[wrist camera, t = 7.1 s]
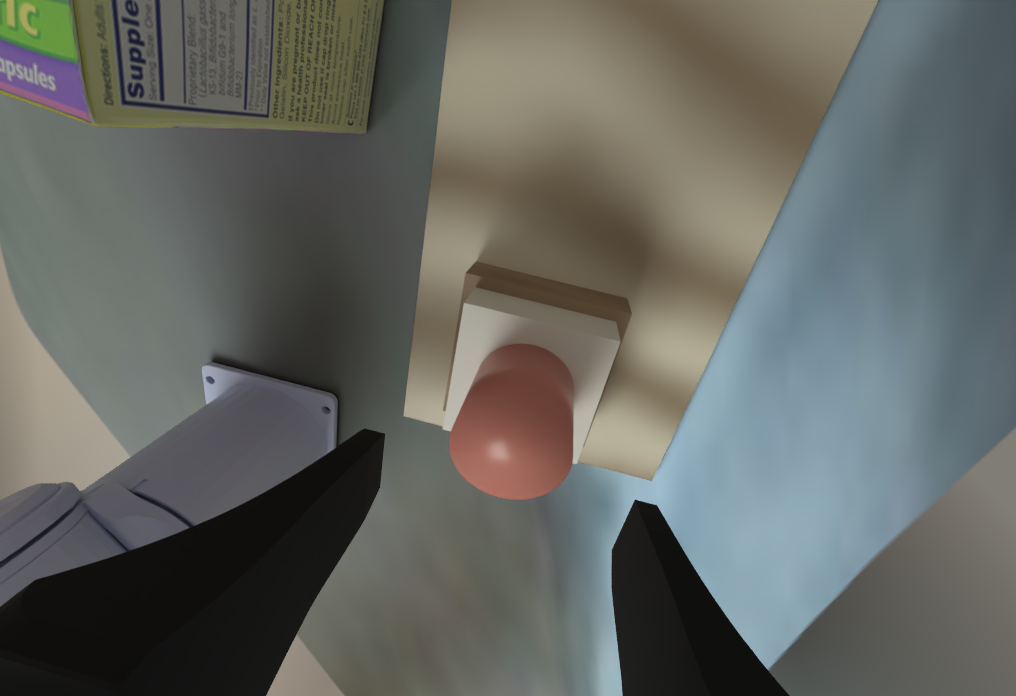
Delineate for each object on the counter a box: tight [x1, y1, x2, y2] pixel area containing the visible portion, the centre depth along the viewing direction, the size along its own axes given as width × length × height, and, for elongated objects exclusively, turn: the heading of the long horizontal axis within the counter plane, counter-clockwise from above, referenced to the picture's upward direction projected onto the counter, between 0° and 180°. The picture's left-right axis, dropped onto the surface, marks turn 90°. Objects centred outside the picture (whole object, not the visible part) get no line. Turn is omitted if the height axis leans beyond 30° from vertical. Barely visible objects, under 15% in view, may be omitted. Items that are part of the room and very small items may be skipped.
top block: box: [443, 287, 621, 464], centre depth 18 cm, size 6×6×2 cm
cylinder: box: [449, 344, 574, 500], centre depth 16 cm, size 4×4×4 cm
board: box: [404, 0, 878, 481], centre depth 18 cm, size 24×14×1 cm, turn 168°
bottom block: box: [443, 262, 632, 447], centre depth 20 cm, size 7×7×2 cm
